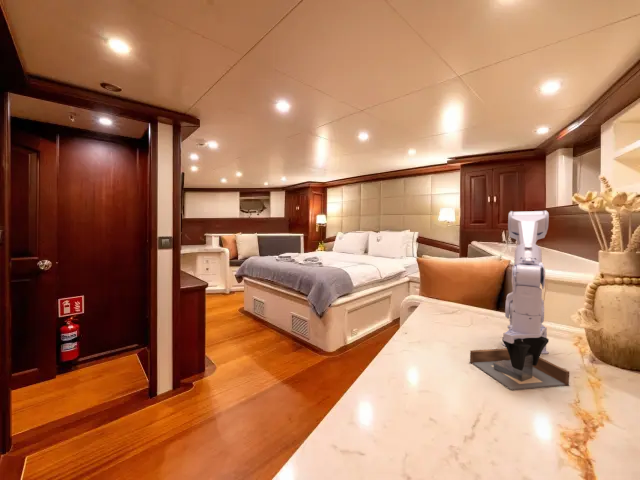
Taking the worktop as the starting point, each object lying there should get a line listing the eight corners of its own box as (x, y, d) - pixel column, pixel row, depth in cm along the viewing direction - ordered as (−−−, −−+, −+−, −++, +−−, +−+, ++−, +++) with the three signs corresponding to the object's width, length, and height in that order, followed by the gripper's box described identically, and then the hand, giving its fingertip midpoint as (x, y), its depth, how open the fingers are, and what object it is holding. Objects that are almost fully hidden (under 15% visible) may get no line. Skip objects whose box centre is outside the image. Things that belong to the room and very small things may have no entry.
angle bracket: (532, 377, 70) (533, 354, 70) (521, 381, 68) (522, 357, 68) (503, 365, 76) (504, 343, 76) (493, 368, 74) (494, 346, 74)
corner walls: (519, 358, 81) (519, 347, 81) (568, 385, 67) (569, 371, 67) (470, 362, 79) (470, 350, 79) (510, 390, 65) (511, 376, 65)
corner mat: (519, 358, 81) (519, 357, 81) (568, 385, 67) (568, 383, 67) (470, 362, 79) (470, 360, 79) (510, 390, 65) (510, 388, 65)
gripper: (526, 305, 76) (524, 354, 76) (491, 311, 70) (489, 364, 70) (557, 312, 69) (554, 366, 70) (521, 319, 63) (519, 378, 64)
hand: (524, 366), depth 69 cm, fingers open, 5 cm apart
